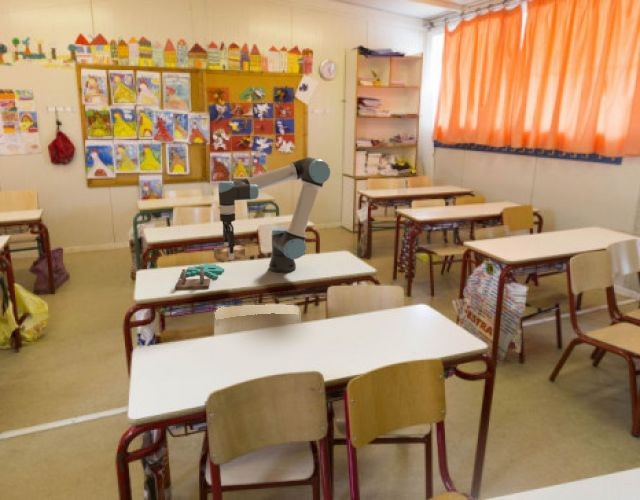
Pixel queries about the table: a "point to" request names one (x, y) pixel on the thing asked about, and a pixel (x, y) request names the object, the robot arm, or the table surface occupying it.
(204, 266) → the alien figure
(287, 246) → the robot arm
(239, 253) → the light brown wooden block
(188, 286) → the peg stand
